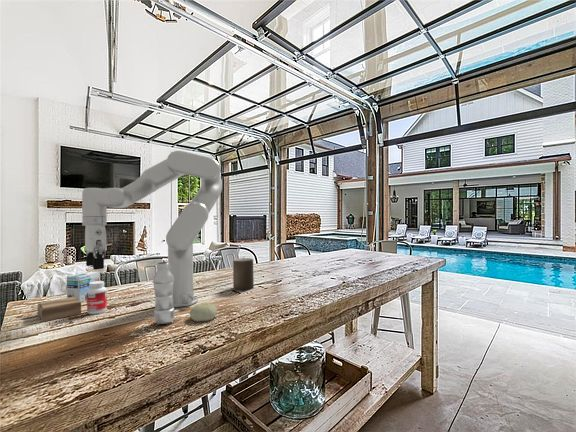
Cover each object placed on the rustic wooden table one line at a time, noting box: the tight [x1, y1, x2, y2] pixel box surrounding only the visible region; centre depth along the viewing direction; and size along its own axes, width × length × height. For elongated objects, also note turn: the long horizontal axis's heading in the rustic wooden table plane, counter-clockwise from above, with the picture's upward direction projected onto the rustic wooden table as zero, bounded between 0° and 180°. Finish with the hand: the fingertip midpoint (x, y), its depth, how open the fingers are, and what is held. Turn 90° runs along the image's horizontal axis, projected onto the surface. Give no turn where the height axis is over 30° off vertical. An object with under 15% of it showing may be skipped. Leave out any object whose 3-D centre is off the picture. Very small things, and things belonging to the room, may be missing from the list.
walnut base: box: [36, 297, 82, 323], centre depth 106 cm, size 11×11×4 cm
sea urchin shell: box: [189, 302, 218, 323], centre depth 100 cm, size 9×8×8 cm
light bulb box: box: [66, 270, 101, 303], centre depth 125 cm, size 11×7×11 cm, turn 168°
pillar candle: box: [232, 257, 255, 291], centre depth 139 cm, size 10×10×15 cm
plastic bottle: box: [152, 261, 176, 325], centre depth 96 cm, size 6×7×20 cm
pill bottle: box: [86, 280, 108, 315], centre depth 108 cm, size 6×6×11 cm
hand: (94, 267), depth 108 cm, fingers open, 9 cm apart
